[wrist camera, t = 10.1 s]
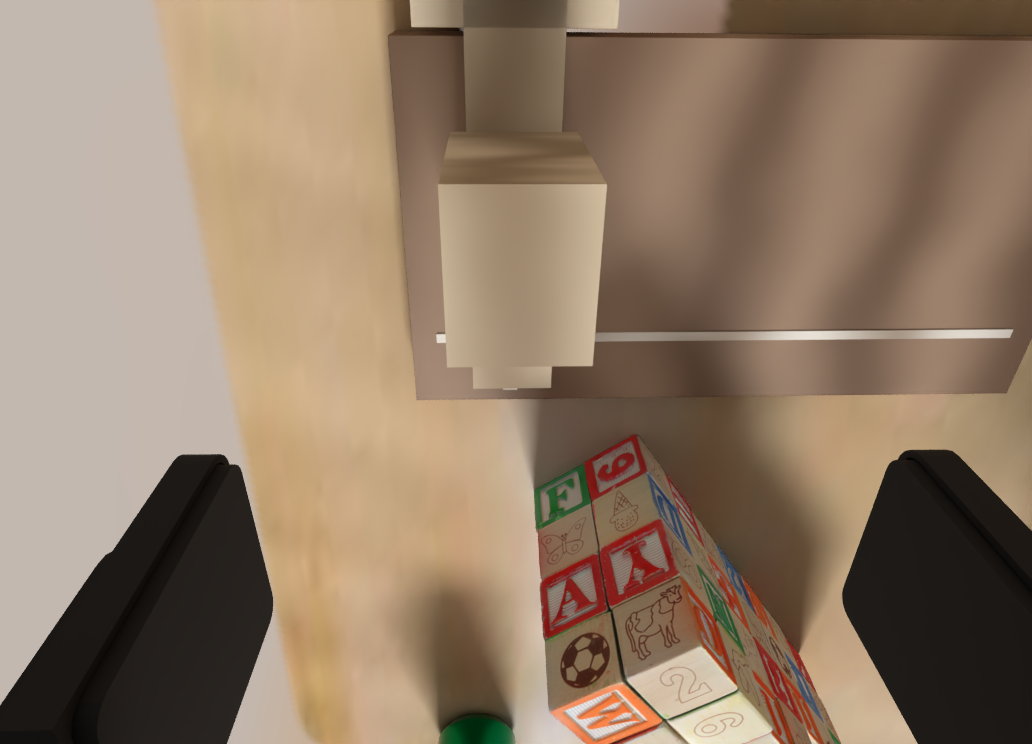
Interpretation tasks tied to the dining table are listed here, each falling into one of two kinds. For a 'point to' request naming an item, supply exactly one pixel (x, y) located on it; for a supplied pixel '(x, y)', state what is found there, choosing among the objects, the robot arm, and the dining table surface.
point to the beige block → (518, 195)
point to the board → (766, 211)
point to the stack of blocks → (658, 619)
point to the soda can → (477, 731)
